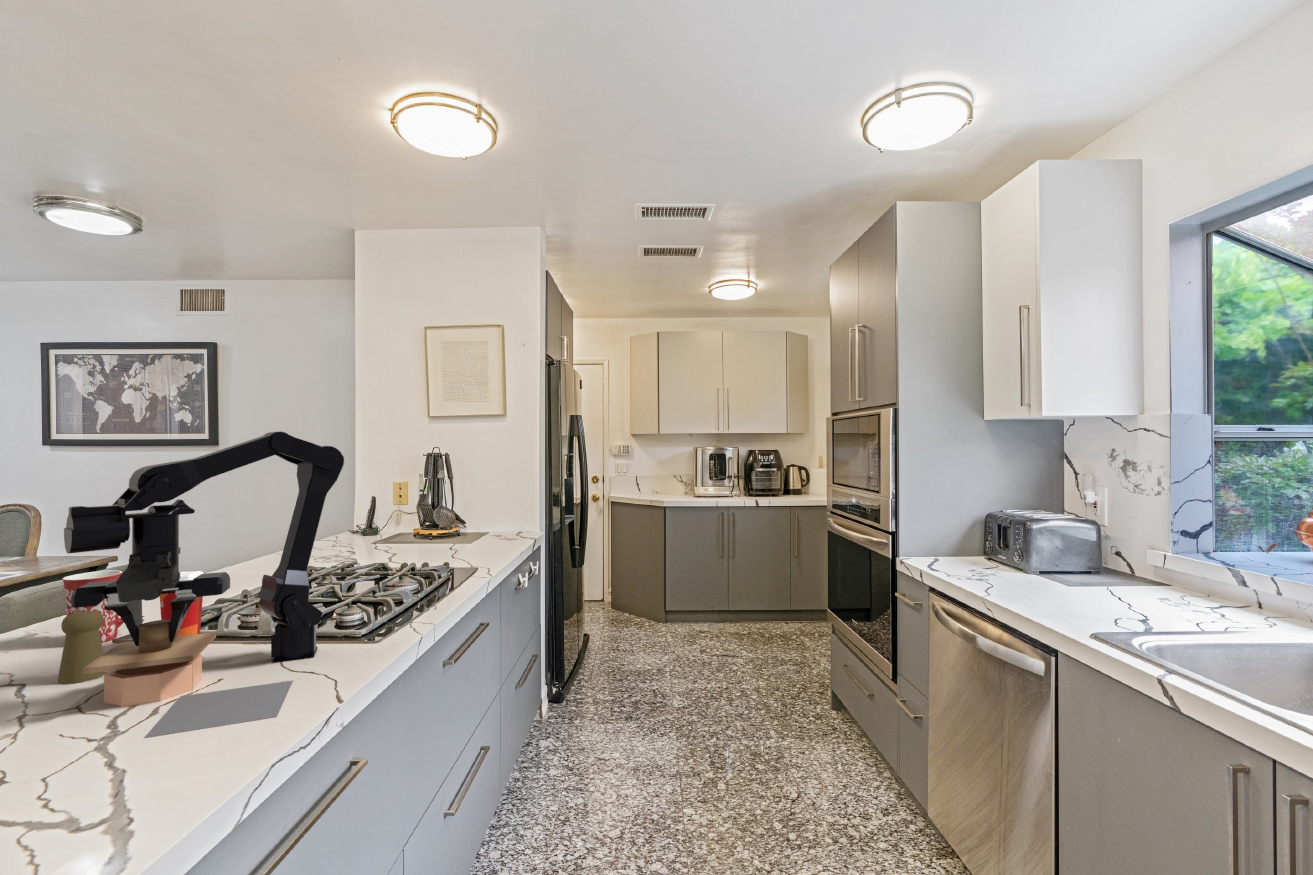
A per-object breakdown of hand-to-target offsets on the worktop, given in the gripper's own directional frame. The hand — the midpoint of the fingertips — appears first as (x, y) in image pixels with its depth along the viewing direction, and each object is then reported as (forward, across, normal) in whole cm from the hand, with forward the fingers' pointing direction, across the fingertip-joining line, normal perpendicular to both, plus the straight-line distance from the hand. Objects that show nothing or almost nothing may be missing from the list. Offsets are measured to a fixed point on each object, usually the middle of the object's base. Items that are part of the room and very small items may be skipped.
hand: (155, 643), depth 96 cm
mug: (+8, -20, +40) cm, 45 cm away
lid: (+2, 0, 0) cm, 2 cm away
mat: (+8, +12, -12) cm, 19 cm away
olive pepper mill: (+8, -14, +14) cm, 21 cm away
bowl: (+8, 0, 0) cm, 8 cm away
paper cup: (+8, -4, +28) cm, 29 cm away
